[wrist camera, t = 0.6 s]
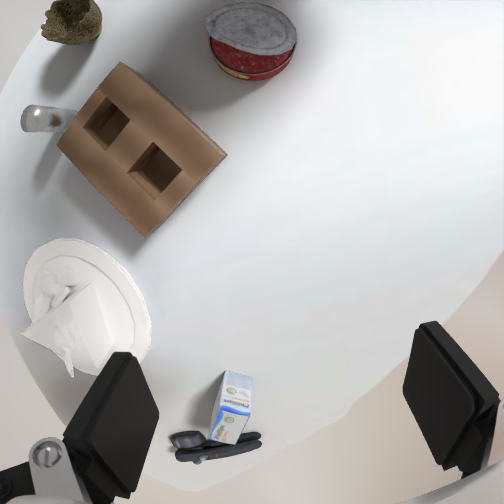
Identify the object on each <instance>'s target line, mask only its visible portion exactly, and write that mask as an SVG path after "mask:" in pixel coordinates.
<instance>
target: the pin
mask: <svg viewBox="0 0 504 504" xmlns="http://www.w3.org/2000/svg"><path fill="white" fill-rule="evenodd" d="M77 114H78V113H77V112H76V111H74V110H68V109H61V108H54V107H47V106H39V105H29V106H28V107H26V108H25V110H24V111H23V113H22V116H21V127H22V129H23V130H24V131H25V132H62V133H65V131H66V130H67V128H68V127H69V125H70V124H71V122H72V121H73V119H74V118H75V117H76V115H77Z"/></svg>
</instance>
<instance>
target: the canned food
mask: <svg viewBox="0 0 504 504" xmlns="http://www.w3.org/2000/svg"><path fill="white" fill-rule="evenodd" d="M203 26H204V27H205V28H206V30H207V32H208V33H209V46H210V49H211V52H212V54H213V56H214V58H215V60H216V62H217V63H218V65H219V66H220V67H221V68H222V69H223V70H224V71H225V72H227V73H228V74H230V75H231V76H234V77H236V78H239V79H243V80H252V81H256V80H264V79H267V78H270V77H272V76H274V75H276V74H278V73H279V72H281V71H282V70H283V69H284V68H285V67H286V66H287V65H288V64H289V62H290V60H291V58H292V56H293V53H294V51H295V48H296V44H297V35H296V28H295V27H294V26H293V24H292V22H291V21H290V20H289V18H288V17H286V16H285V15H284V14H283V13H282V12H280V11H278V10H277V9H275V8H272V7H270V6H267V5H262V4H253V3H238V4H232V5H226V6H224V7H222V8H220V9H217V10H214V11H213V12H212V13H211V14H210V15H209V16H207V17H206V18H205V20H204V23H203Z"/></svg>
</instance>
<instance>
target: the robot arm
mask: <svg viewBox="0 0 504 504" xmlns="http://www.w3.org/2000/svg"><path fill="white" fill-rule="evenodd" d="M403 395H404V397H405V399H406V401H407V403H408V405H409V407H410V409H411V411H412V413H413V415H414V417H415V419H416V421H417V423H418V425H419V427H420V429H421V431H422V433H423V436H424V438H425V440H426V442H427V444H428V446H429V448H430V450H431V452H432V455H433V457H434V459H435V461H436V463H437V464H438V465H442V467H443V470H444V471H445V470H448V469H450V468H452V467H455V466H458V468H459V470H460V472H459V475H458V477H457V480H456V482H454V483H452V484H449V485H447V486H445V487H442V488H439V489H437V490H434V491H432V492H429V493H427V494H424V495H421V496H418V497H415V498H413V499H410V500H406V501H403V502H400V503H397V504H504V398H503V399H502V401H501V400H500V399H499V398H498V396H499V393H498V392H497V391H496V390H495V388H494V387H493V386H492V385H491V383H490V382H489V381H488V380H487V378H486V377H485V376H484V374H483V373H482V372H481V371H480V370H479V368H478V367H477V366H476V365H475V364H474V363H473V361H472V360H471V359H470V358H469V357H468V355H467V354H466V353H465V352H464V351H463V350H462V348H460V346H459V345H458V344H457V343H456V342H455V341H454V339H453V338H452V337H451V336H450V335H449V334H448V333H447V332H446V331H445V330H444V328H443V327H442V326H441V325H440V324H439V323H438V322H437V321H431V322H427V323H423V324H420V326H419V328H418V329H416V330H415V333H414V338H413V344H412V349H411V354H410V358H409V363H408V368H407V372H406V376H405V380H404V384H403ZM158 419H159V410H158V408H157V406H156V403H155V401H154V399H153V396H152V394H151V392H150V389H149V387H148V385H147V382H146V380H145V377H144V375H143V372H142V370H141V367H140V364H139V362H138V359H137V358H136V357H135V356H133V355H132V354H131V353H130V352H114V353H113V354H112V355H111V357H110V358H109V360H108V361H107V363H106V364H105V366H104V367H103V369H102V371H101V372H100V374H99V375H98V377H97V378H96V380H95V382H94V383H93V385H92V386H91V388H90V390H89V391H88V393H87V395H86V396H85V398H84V399H83V401H82V403H81V404H80V406H79V408H78V409H77V411H76V413H75V414H74V416H73V418H72V419H71V421H70V423H69V425H68V426H67V428H66V430H65V432H64V434H63V436H64V439H63V440H62V441H61V440H60V439H57V438H53V437H48V438H43V439H41V440H39V441H38V442H36V443H35V444H34V445H33V447H32V448H31V450H30V452H29V461H28V462H25V463H23V464H20V465H17V466H14V467H11V468H9V469H6V470H3V471H0V504H114V502H113V501H114V498H115V496H118V497H122V498H126V499H129V498H130V494H131V492H134V491H135V490H136V488H137V485H138V481H139V478H140V475H141V472H142V469H143V466H144V462H145V459H146V456H147V453H148V450H149V447H150V444H151V441H152V438H153V435H154V432H155V429H156V425H157V422H158Z"/></svg>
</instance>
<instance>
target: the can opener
mask: <svg viewBox="0 0 504 504" xmlns="http://www.w3.org/2000/svg"><path fill="white" fill-rule="evenodd" d="M260 438H261V434H260V433H258V432H249V433H243V434H241V435H240V437H239V439H238V441H237V443H236V444H229V443H224V442H219V441H215V440H213V441H205V440H206V438H205V437H204V436H203V435H202V434H201V433H200V432H199V431H186V432H181V433H178V434H175V435H173V436H172V437H171V441H172V444H173V446H174V447H177V448H178V450H177V451H176V453H175V457H176V459H177V460H178V461H180V462H189V461H192V462H193V463H194V464H196V465H198V464H200V463H201V462H202V461H206V460H211V459H218V458H224V457H229V456H234V455H238V454H242V453H245V452H249V451H252V450H255V449H258V448H260V447H261V445H262V442H261V441H259V440H258V439H260Z"/></svg>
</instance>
